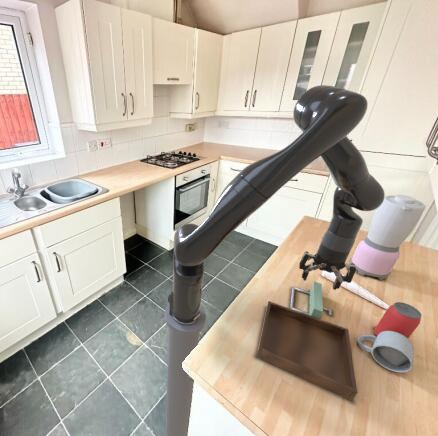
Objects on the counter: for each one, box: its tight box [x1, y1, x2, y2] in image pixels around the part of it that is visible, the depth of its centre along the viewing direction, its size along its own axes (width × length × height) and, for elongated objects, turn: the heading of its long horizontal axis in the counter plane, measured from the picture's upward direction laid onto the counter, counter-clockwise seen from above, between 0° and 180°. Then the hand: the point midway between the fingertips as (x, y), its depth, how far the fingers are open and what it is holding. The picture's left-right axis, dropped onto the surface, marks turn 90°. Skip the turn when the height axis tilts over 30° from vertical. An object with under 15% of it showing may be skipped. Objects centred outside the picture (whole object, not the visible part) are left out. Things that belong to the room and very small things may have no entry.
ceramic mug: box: [356, 331, 415, 373], centre depth 66 cm, size 11×8×8 cm
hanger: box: [289, 281, 333, 319], centre depth 83 cm, size 12×14×5 cm
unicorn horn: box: [321, 271, 391, 310], centre depth 86 cm, size 5×24×5 cm, turn 27°
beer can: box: [374, 301, 423, 339], centre depth 69 cm, size 7×7×12 cm
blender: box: [349, 194, 427, 281], centre depth 92 cm, size 16×12×32 cm
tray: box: [256, 300, 358, 402], centre depth 70 cm, size 22×20×4 cm
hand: (318, 283), depth 82 cm, fingers open, 8 cm apart
